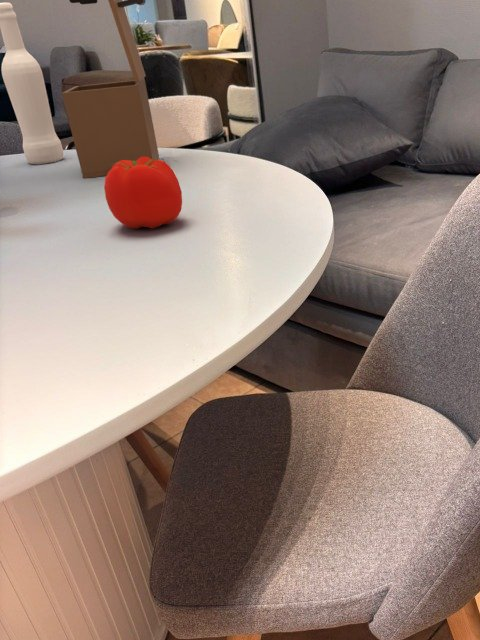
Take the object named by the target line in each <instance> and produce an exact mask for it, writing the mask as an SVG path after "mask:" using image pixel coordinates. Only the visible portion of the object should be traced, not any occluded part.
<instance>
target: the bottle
mask: <svg viewBox="0 0 480 640" xmlns="http://www.w3.org/2000/svg"><path fill="white" fill-rule="evenodd" d="M17 18H18V16H17V13H16V12H15V10H14V6H13V4H12V3H10V2H0V32H1V36H2V39H3V40H2V41H3V44H4V47H5V48H4V49H5V54H4V57H3V59H2V61H1V70H0V71H1V76H2V79H3V83H4V85H5V88H6V92H7V94H8V97H9V100H10V102H11V105H12V108H13V111H14V114H15V117H16V120H17V123H18V125H19V129H20V132H21V135H22V150H23V153H24V157H25V158H26V161H27V162H28V163H29V164H30V165H45V164H52V163H57V162H60V161H62V160H63V159H64V149H63V145H62V142H61V140H60V138H59V137H58V135H57V133H56V130H55V126H54V122H53V118H52V112H51V107H50V103H49V97H48V93H47V89H46V84H45V79H44V75H43V74H44V73H43V70H42V68H41V66H40V63H39V62H38V61H37V59H36V58H34V56H33V55H32V54H31V53H29V52H28V50H27V49H26V46H25V44H24V40H23V36H22V33H21V30H20V26H19V24H18V19H17Z"/></svg>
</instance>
